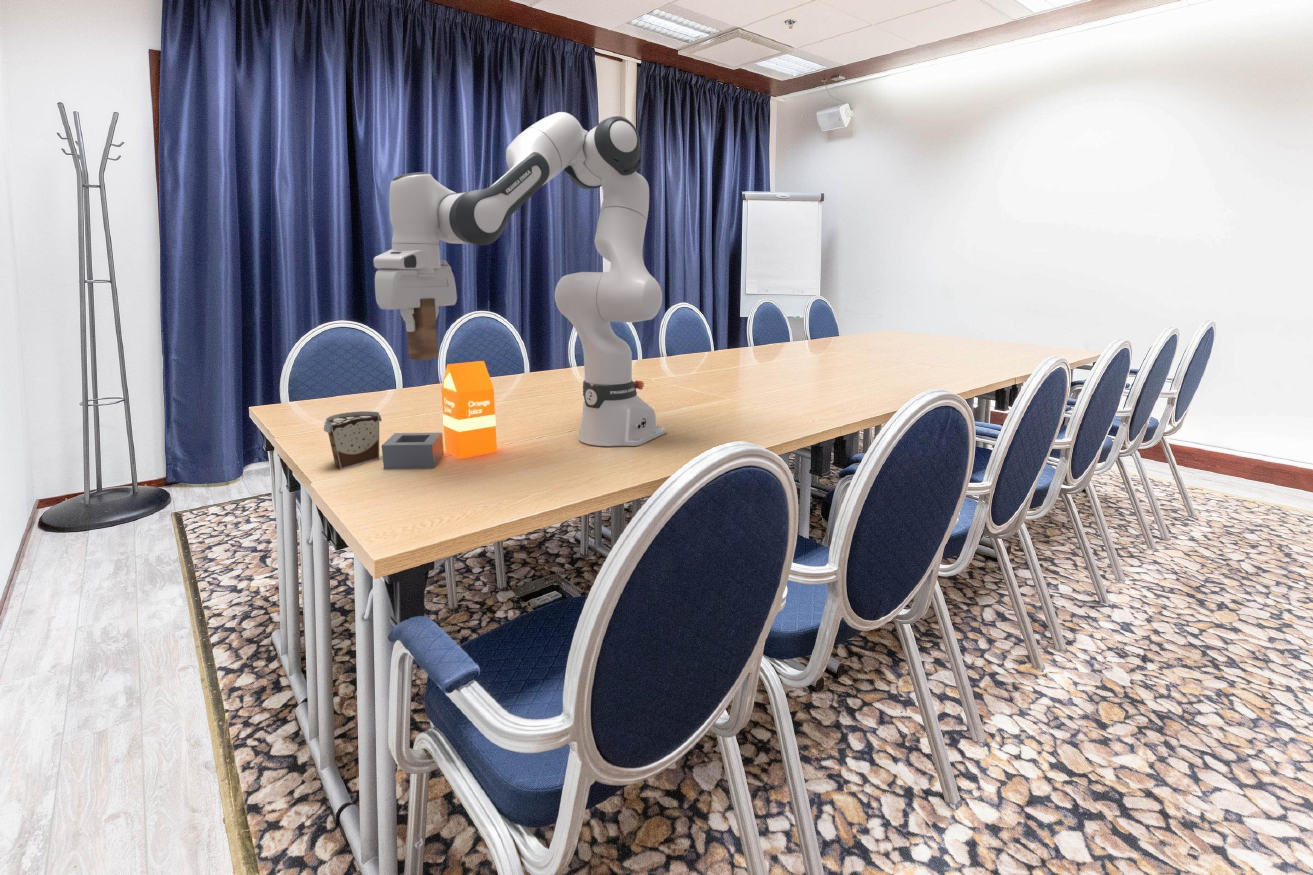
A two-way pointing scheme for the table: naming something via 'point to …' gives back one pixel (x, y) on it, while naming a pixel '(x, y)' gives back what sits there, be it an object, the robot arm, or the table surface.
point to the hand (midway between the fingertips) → (421, 330)
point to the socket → (412, 450)
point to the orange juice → (468, 410)
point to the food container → (353, 437)
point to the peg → (424, 332)
